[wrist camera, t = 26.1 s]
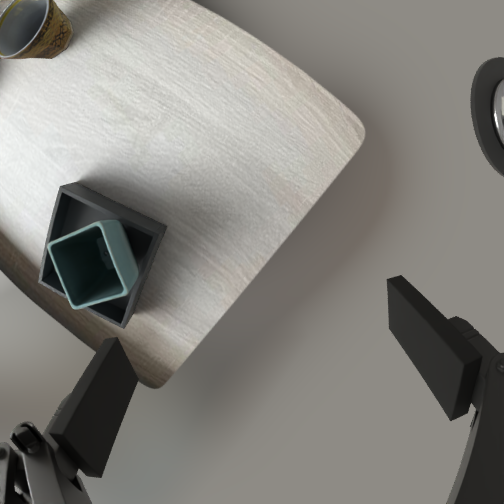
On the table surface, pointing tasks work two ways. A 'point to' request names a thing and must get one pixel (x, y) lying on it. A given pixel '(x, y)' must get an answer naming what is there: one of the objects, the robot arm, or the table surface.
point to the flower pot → (95, 263)
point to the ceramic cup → (33, 30)
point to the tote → (140, 237)
